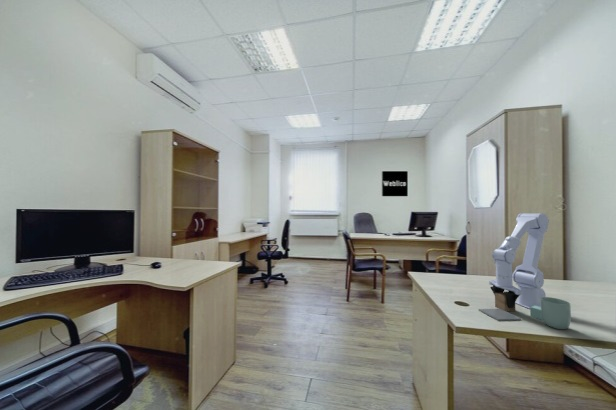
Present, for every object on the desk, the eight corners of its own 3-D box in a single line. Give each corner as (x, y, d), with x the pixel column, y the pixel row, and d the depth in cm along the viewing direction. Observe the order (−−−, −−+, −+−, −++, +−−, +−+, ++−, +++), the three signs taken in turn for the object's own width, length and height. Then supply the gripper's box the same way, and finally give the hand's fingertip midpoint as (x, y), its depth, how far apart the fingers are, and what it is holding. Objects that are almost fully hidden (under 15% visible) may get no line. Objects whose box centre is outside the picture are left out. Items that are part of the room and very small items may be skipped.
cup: (536, 322, 93) (535, 297, 93) (553, 321, 93) (552, 296, 94) (558, 332, 85) (557, 304, 85) (577, 331, 86) (576, 304, 86)
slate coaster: (499, 309, 105) (499, 308, 105) (521, 320, 95) (521, 318, 95) (478, 310, 104) (478, 309, 104) (497, 320, 94) (497, 319, 94)
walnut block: (505, 306, 109) (504, 292, 109) (515, 310, 104) (514, 296, 104) (495, 306, 108) (494, 292, 108) (504, 311, 103) (504, 296, 104)
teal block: (535, 314, 100) (535, 305, 100) (547, 318, 96) (547, 308, 96) (530, 316, 98) (530, 306, 98) (542, 320, 95) (542, 310, 95)
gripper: (483, 271, 113) (483, 299, 113) (510, 280, 99) (511, 312, 99) (496, 271, 114) (497, 299, 113) (525, 279, 99) (527, 311, 99)
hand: (505, 305), depth 106 cm, fingers closed on walnut block, 5 cm apart
